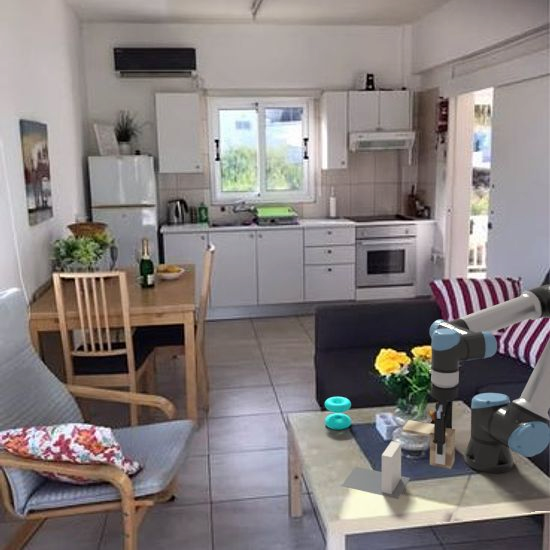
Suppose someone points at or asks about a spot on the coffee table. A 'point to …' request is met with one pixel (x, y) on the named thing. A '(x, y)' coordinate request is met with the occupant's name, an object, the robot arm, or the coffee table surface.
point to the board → (372, 482)
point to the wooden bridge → (428, 430)
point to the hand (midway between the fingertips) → (442, 459)
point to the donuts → (338, 413)
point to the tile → (391, 467)
